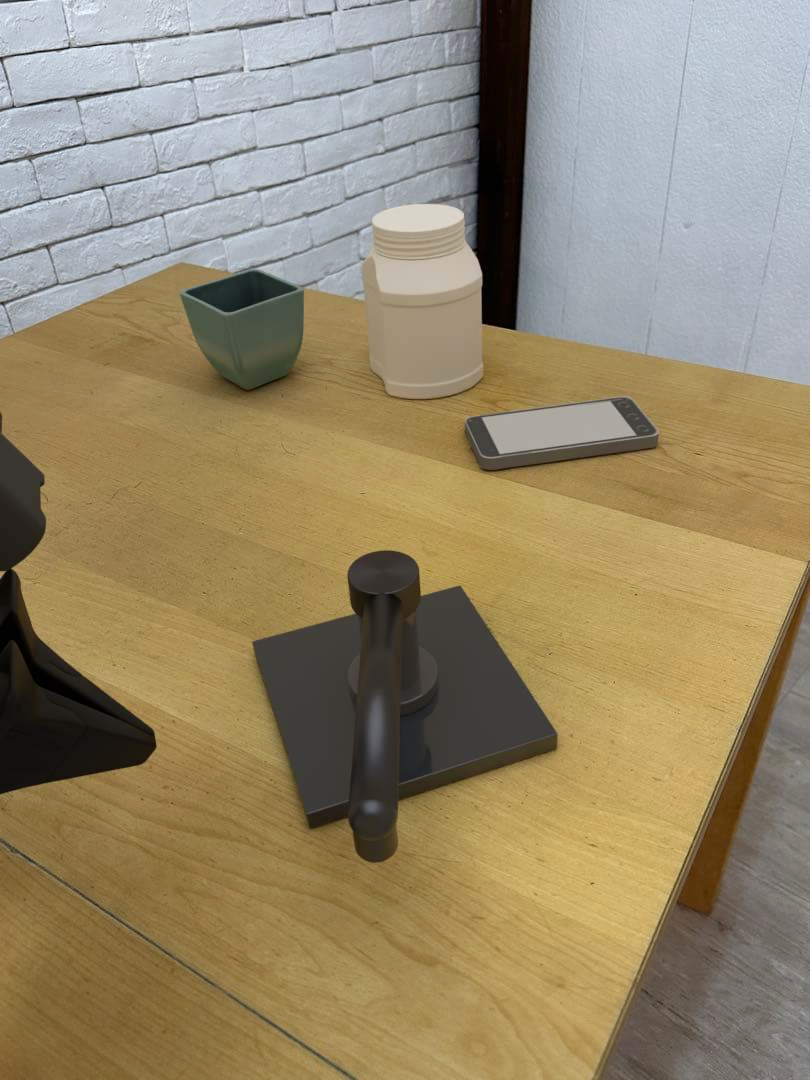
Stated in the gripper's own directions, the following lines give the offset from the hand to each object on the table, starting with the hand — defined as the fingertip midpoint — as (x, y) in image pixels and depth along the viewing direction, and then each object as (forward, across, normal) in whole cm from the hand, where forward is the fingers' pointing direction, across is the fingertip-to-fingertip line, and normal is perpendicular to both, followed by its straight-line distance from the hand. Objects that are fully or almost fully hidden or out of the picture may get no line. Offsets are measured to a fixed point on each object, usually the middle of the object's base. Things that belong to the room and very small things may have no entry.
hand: (149, 748), depth 33 cm
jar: (+30, +52, -11) cm, 61 cm away
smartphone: (+34, +35, -15) cm, 51 cm away
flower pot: (+19, +59, 0) cm, 62 cm away
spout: (+12, +5, -3) cm, 13 cm away
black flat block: (+18, +12, 0) cm, 22 cm away
